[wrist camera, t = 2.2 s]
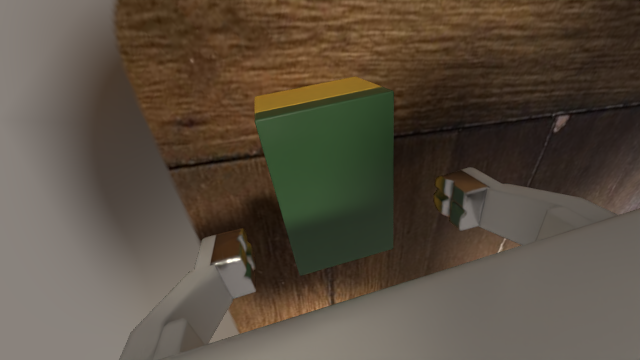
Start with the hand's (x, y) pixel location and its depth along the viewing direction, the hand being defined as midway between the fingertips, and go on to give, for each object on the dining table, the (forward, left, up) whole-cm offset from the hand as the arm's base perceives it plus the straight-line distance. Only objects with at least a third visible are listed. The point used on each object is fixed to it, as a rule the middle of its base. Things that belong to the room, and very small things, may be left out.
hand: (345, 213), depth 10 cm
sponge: (0, 0, -5) cm, 5 cm away
